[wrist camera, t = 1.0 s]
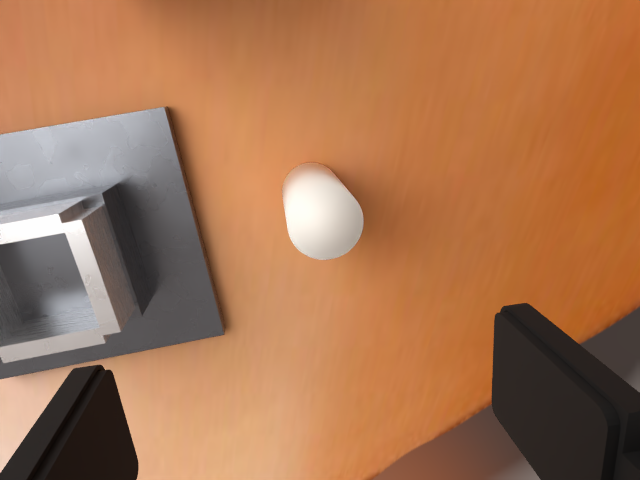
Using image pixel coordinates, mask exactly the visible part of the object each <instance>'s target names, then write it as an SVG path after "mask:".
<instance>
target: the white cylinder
mask: <svg viewBox="0 0 640 480" xmlns="http://www.w3.org/2000/svg"><path fill="white" fill-rule="evenodd" d="M282 197H283V203H284V209H285V215H286V221H287V227H288V232H289V236H290V238H291V241H292V242H293V244H294V245H295V247H296V248H297V249H298V250H299V251H300V252H302V253H303V254H305V255H307V256H309V257H311V258H315V259H320V260H328V259H334V258H337V257H340V256H342V255H344V254H346V253H347V252H348V251H350V250H351V249H352V248H353V247H354V246H355V244H356V243H357V242H358V240H359V238H360V236H361V233H362V230H363V223H364V220H363V213H362V210H361V207H360V205H359V203H358V202H357V200H356V199H355V198H354V197H353V195H352V194H351V193H350V192H349V191H348V189H347V188H346V187H345V186H344V185H343V184H342V182H341V181H340V180H339V179H338V178H337V176H336V175H335V174H334V173H333V172H332V171H331V170H330V169H329V168H328V167H326V166H325V165H322V164H319V163H314V162H309V163H303V164H300V165H298V166H296V167H295V168H293V169H292V170H291V171H290V172H289V173H288V175H287V176H286V178H285V180H284V182H283V186H282Z"/></svg>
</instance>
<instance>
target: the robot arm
mask: <svg viewBox="0 0 640 480" xmlns="http://www.w3.org/2000/svg"><path fill="white" fill-rule="evenodd" d="M492 407H493V411H494V413H495V416H496V417H497V419H498V420H499V422H500V423H501V425H502V426H503V427H504V429H505V430H506V431H507V433H508V434H509V436H510V437H511V439H512V440H513V441H514V443H515V444H516V445H517V447H518V448H519V450H520V451H521V453H522V454H523V455H524V457H525V458H526V460H527V461H528V462H529V464H530V465H531V466H532V468H533V469H534V471H535V472H536V474H537V475H538V476H539V478H540V479H541V480H640V393H639V392H638V391H637V390H635V389H634V388H633V387H631V386H630V385H629V384H628V383H627V382H625V381H624V380H623V379H622V378H620V377H619V376H618V375H617V374H615V373H614V372H613V371H612V370H610V369H609V368H608V367H607V366H605V365H604V364H603V363H602V362H600V361H599V360H598V359H597V358H595V357H594V356H593V355H592V354H590V353H589V352H588V351H587V350H585V349H584V348H583V347H582V346H581V345H579V344H578V343H577V342H576V341H574V340H573V339H572V338H571V337H569V336H568V335H567V334H566V333H564V332H563V331H562V330H561V329H559V328H558V327H557V326H556V325H554V324H553V323H552V322H551V321H549V320H548V319H547V318H546V317H544V316H543V315H542V314H541V313H539V312H538V311H537V310H536V309H534V308H533V307H532V306H531V305H529V304H527V303H522V304H515V305H508V306H503V307H502V309H501V311H500V313H497V314H496V315H495V321H494V349H493V378H492ZM137 475H138V459H137V455H136V452H135V448H134V445H133V441H132V438H131V434H130V431H129V427H128V424H127V420H126V417H125V413H124V410H123V406H122V403H121V399H120V396H119V393H118V389H117V386H116V382H115V379H114V375H113V373H112V371H111V370H105V369H104V367H103V366H102V365H94V366H87V367H80V368H75V369H73V370H72V371H71V372H70V374H69V375H68V377H67V378H66V379H65V381H64V382H63V384H62V385H61V387H60V388H59V390H58V391H57V392H56V394H55V395H54V397H53V398H52V400H51V401H50V402H49V404H48V405H47V407H46V408H45V410H44V411H43V413H42V414H41V415H40V417H39V418H38V420H37V421H36V423H35V424H34V426H33V427H32V428H31V430H30V431H29V433H28V434H27V436H26V437H25V438H24V440H23V441H22V443H21V444H20V446H19V447H18V449H17V450H16V451H15V453H14V454H13V456H12V457H11V459H10V460H9V462H8V463H7V464H6V466H5V467H4V469H3V470H2V472H1V473H0V480H136V479H137Z"/></svg>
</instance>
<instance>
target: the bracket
mask: <svg viewBox="0 0 640 480" xmlns="http://www.w3.org/2000/svg"><path fill="white" fill-rule="evenodd" d="M224 333H225V325H224V321H223V317H222V313H221V309H220V305H219V302H218V298H217V294H216V290H215V286H214V282H213V279H212V275H211V271H210V267H209V263H208V259H207V256H206V252H205V248H204V244H203V240H202V236H201V233H200V229H199V225H198V221H197V217H196V213H195V210H194V206H193V202H192V198H191V194H190V190H189V187H188V183H187V179H186V175H185V171H184V167H183V164H182V160H181V156H180V152H179V148H178V144H177V141H176V137H175V133H174V129H173V125H172V121H171V118H170V114H169V110H168V107H161V108H155V109H150V110H144V111H138V112H132V113H126V114H120V115H114V116H108V117H102V118H96V119H90V120H84V121H78V122H72V123H66V124H60V125H54V126H49V127H43V128H37V129H31V130H25V131H19V132H13V133H7V134H1V135H0V379H4V378H9V377H14V376H19V375H24V374H29V373H34V372H39V371H44V370H49V369H54V368H59V367H64V366H69V365H74V364H79V363H84V362H89V361H94V360H99V359H104V358H109V357H114V356H119V355H124V354H129V353H134V352H139V351H144V350H149V349H154V348H159V347H164V346H169V345H174V344H179V343H184V342H189V341H194V340H199V339H204V338H209V337H214V336H220V335H224Z"/></svg>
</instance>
